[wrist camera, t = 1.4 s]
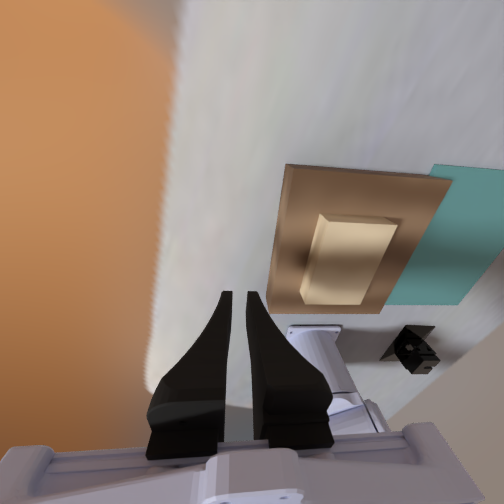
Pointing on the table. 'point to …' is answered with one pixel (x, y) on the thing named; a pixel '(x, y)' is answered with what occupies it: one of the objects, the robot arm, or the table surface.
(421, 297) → the teal mat
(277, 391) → the robot arm
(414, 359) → the black slotted bracket
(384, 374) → the table surface
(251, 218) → the table surface
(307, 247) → the walnut board
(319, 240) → the beech tile
